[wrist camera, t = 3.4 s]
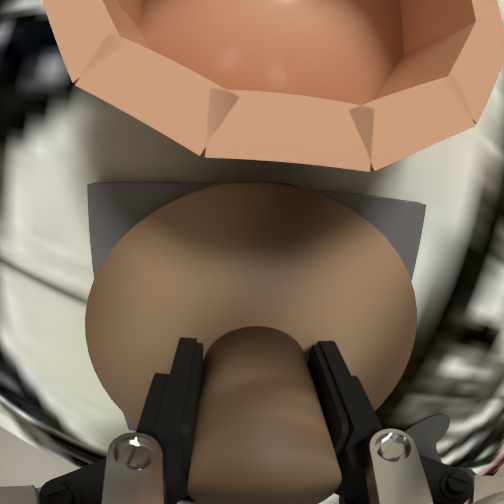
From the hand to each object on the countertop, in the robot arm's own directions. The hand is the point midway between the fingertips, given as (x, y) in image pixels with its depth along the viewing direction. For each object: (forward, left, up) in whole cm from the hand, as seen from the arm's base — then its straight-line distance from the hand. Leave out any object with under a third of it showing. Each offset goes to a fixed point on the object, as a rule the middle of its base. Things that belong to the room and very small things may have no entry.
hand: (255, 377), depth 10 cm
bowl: (0, -13, -2) cm, 13 cm away
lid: (0, 0, -2) cm, 2 cm away
